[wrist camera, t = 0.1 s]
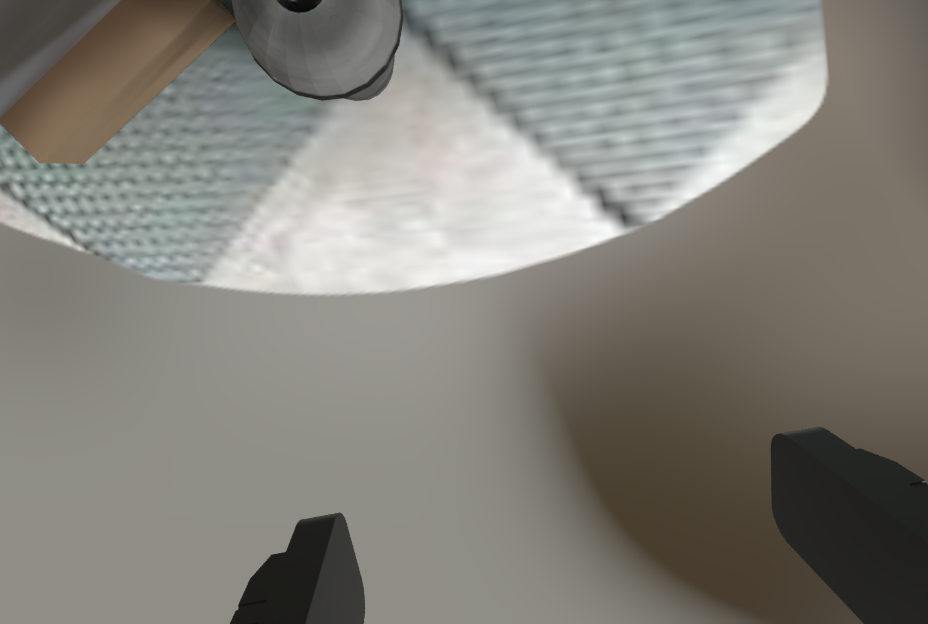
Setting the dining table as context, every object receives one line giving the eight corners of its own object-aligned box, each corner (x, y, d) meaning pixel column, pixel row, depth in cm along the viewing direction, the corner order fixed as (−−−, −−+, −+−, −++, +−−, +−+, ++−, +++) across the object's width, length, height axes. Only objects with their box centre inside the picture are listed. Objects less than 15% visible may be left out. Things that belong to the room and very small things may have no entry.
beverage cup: (427, 105, 35) (415, 25, 16) (323, 135, 35) (186, 92, 16) (395, -13, 33) (336, -270, 14) (285, 19, 33) (76, -190, 14)
